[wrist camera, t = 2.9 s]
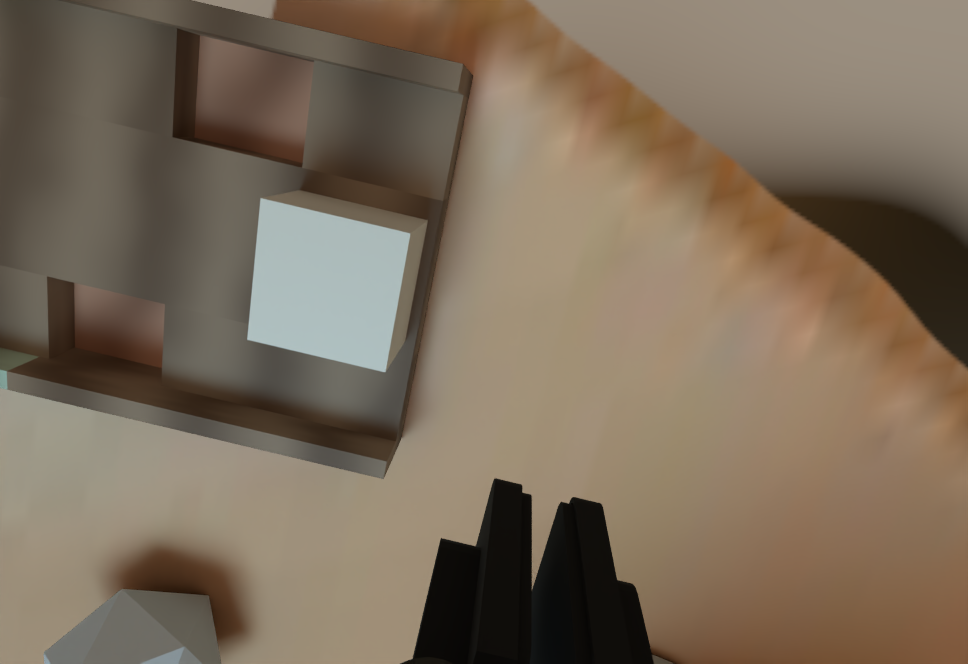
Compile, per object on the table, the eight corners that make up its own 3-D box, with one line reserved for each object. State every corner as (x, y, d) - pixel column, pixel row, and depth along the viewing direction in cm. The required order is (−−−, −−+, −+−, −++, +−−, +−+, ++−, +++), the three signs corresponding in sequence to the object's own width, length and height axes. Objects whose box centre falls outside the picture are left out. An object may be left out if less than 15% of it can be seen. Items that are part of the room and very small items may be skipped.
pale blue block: (427, 220, 26) (410, 233, 23) (404, 341, 28) (385, 372, 24) (299, 189, 26) (260, 198, 23) (285, 313, 28) (247, 339, 25)
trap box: (472, 75, 26) (462, 64, 22) (400, 439, 32) (383, 479, 28) (-65, -51, 26) (-165, -83, 23) (-36, 335, 32) (-111, 361, 29)
